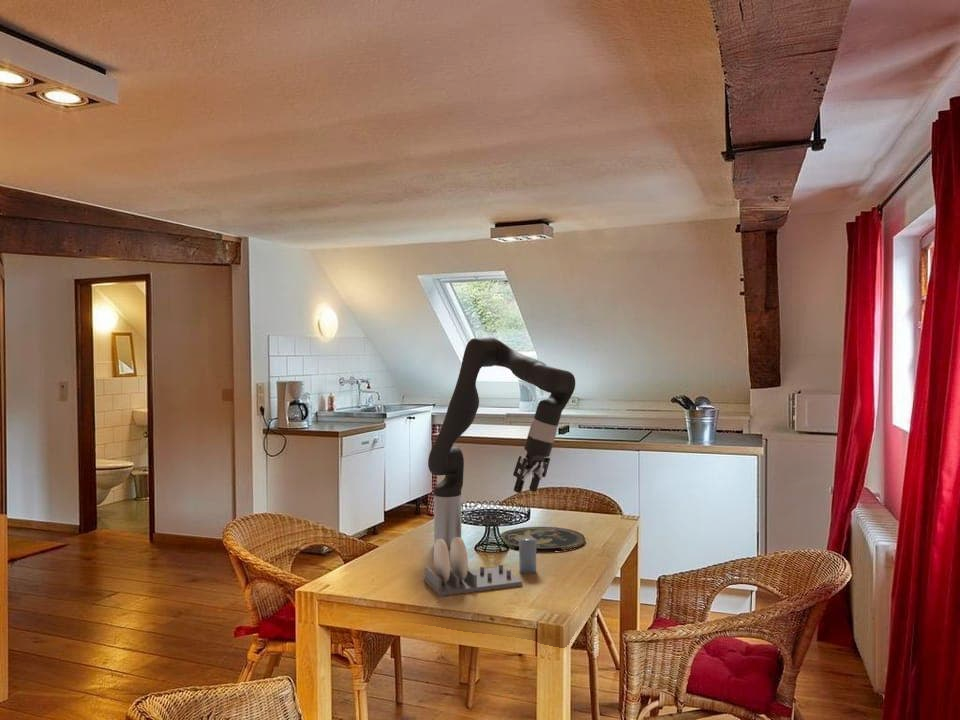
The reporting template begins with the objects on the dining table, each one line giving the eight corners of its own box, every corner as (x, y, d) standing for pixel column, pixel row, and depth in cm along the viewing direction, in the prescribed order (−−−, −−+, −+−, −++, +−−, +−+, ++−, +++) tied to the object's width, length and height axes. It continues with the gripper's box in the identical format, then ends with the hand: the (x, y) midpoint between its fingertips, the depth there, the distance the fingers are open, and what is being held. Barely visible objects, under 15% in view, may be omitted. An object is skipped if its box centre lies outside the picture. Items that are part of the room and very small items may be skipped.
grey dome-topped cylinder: (516, 570, 214) (516, 538, 214) (531, 568, 215) (531, 536, 215) (523, 574, 209) (523, 542, 209) (539, 572, 211) (539, 540, 211)
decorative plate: (560, 522, 266) (601, 542, 238) (560, 528, 266) (602, 547, 238) (485, 531, 256) (519, 552, 228) (485, 536, 256) (519, 558, 228)
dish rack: (423, 580, 204) (423, 534, 204) (501, 570, 213) (501, 526, 213) (439, 596, 190) (439, 547, 190) (522, 585, 199) (522, 538, 199)
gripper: (542, 433, 210) (527, 485, 212) (517, 432, 199) (500, 487, 200) (564, 441, 206) (548, 495, 207) (539, 441, 195) (522, 497, 196)
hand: (524, 491), depth 204 cm, fingers open, 8 cm apart
